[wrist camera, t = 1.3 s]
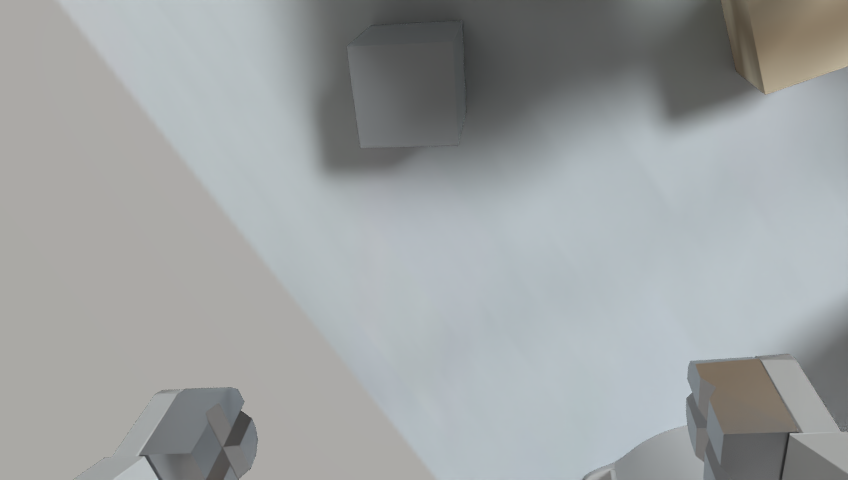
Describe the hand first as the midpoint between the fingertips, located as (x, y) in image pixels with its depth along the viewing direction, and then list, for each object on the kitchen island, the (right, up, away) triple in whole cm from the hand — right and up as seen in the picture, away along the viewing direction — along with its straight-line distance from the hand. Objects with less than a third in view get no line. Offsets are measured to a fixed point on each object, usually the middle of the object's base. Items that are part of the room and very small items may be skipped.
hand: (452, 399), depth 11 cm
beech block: (+17, +14, +19) cm, 29 cm away
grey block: (-1, +12, +23) cm, 26 cm away
